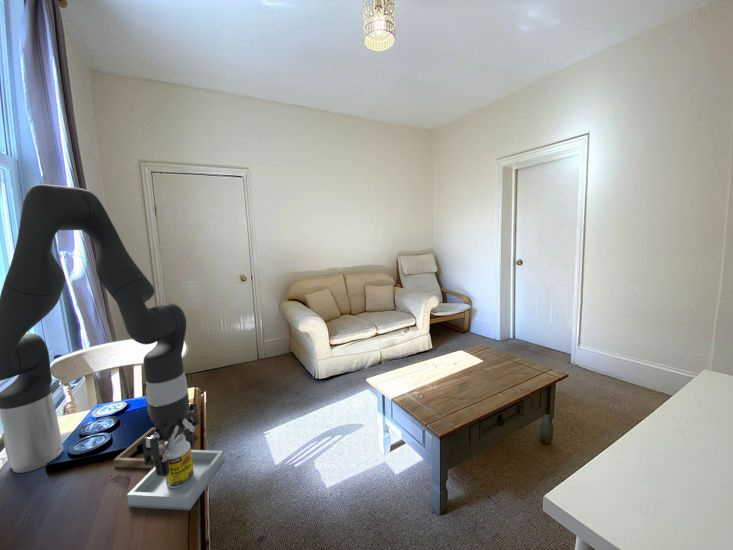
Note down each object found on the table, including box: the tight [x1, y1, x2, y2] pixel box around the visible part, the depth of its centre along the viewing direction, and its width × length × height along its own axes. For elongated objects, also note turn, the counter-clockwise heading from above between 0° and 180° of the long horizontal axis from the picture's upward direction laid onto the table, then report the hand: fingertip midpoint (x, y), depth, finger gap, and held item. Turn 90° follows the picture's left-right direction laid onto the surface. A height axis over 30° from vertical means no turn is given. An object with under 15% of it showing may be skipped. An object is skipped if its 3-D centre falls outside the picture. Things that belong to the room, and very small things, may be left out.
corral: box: [113, 426, 195, 470], centre depth 83 cm, size 13×13×2 cm
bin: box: [126, 449, 225, 511], centre depth 72 cm, size 14×14×3 cm
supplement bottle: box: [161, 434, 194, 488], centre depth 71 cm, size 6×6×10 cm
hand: (177, 460), depth 71 cm, fingers open, 8 cm apart
